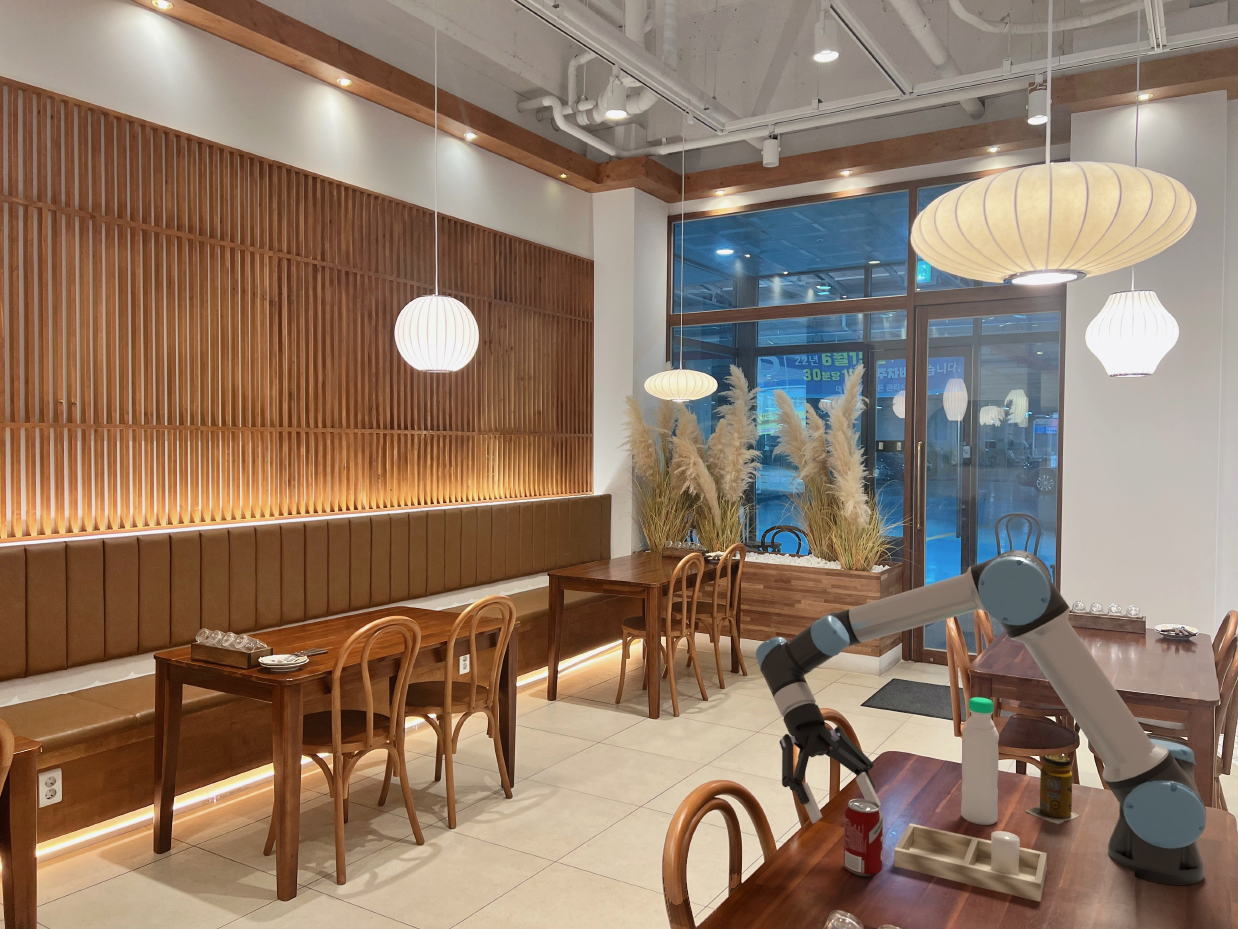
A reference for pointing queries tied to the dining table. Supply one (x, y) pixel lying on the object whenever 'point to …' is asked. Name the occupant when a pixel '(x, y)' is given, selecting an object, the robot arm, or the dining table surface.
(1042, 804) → the condiment
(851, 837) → the soda can
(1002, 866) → the salt shaker
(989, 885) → the drink caddy
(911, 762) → the dining table surface
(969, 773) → the water bottle
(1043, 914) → the dining table surface
